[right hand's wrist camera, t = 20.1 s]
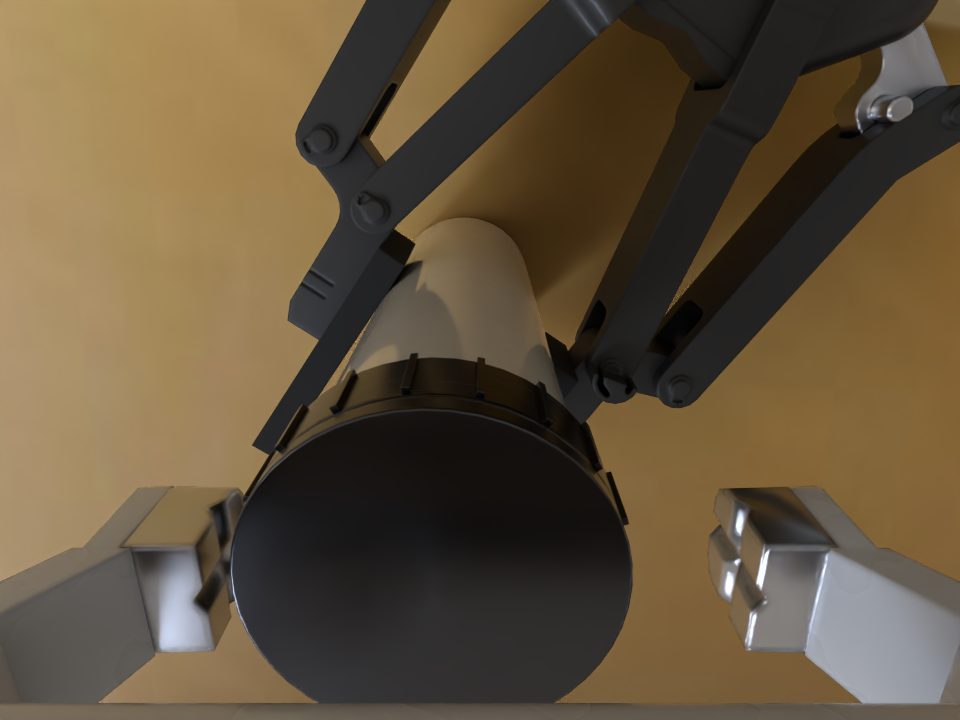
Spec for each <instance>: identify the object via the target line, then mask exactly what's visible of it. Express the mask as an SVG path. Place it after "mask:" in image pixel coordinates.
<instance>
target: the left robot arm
mask: <svg viewBox="0 0 960 720" xmlns="http://www.w3.org/2000/svg"><path fill="white" fill-rule="evenodd" d="M450 1H451V0H366V2H365V4H364V6H363V7H362V9H361V11H360V13H359V15H358V16H357V18H356V20H355V22H354V24H353V26H352V27H351V29H350V31H349V33H348V35H347V37H346V38H345V40H344V42H343V44H342V46H341V48H340V49H339V51H338V53H337V55H336V57H335V59H334V60H333V62H332V64H331V66H330V68H329V69H328V71H327V73H326V75H325V77H324V79H323V80H322V82H321V84H320V86H319V88H318V90H317V91H316V93H315V95H314V97H313V99H312V101H311V102H310V104H309V106H308V108H307V110H306V112H305V113H304V115H303V117H302V119H301V121H300V123H299V124H298V128H297V131H296V134H295V135H296V145H297V148H298V150H299V152H300V154H301V156H302V157H303V158H304V159H306V160H307V161H308V162H309V163H310V164H313V165H315V166H316V167H317V168H318V169H319V171H320V172H321V173H322V175H323V176H324V177H325V178H326V180H327V181H328V182H329V184H330V185H331V186H332V188H333V189H334V191H335V193H336V194H337V197H338V200H339V203H340V215H339V220H338V222H337V224H336V227H335V228H334V230H333V231H332V233H331V235H330V236H329V238H328V240H327V241H326V243H325V245H324V246H323V248H322V250H321V251H320V253H319V254H318V256H317V258H316V259H315V261H314V263H313V264H312V266H311V268H310V270H309V271H308V272H307V274H306V276H305V277H304V279H303V281H302V283H301V284H300V286H299V287H298V289H297V291H296V292H295V294H294V295H293V297H292V299H291V300H290V306H289V314H288V321H289V322H291V323H292V324H294V325H296V326H297V327H299V328H301V329H302V330H304V331H305V332H307V333H309V334H310V335H312V336H313V337H315V338H317V339H318V340H319V342H318V343H317V345H316V346H315V348H314V349H313V351H312V352H311V354H310V356H309V357H308V359H307V360H306V362H305V363H304V365H303V366H302V368H301V370H300V371H299V373H298V374H297V376H296V377H295V379H294V381H293V382H292V384H291V385H290V387H289V388H288V390H287V391H286V393H285V395H284V396H283V398H282V399H281V401H280V402H279V404H278V405H277V407H276V409H275V410H274V412H273V413H272V415H271V416H270V418H269V419H268V421H267V423H266V424H265V426H264V427H263V429H262V430H261V432H260V433H259V435H258V437H257V438H256V440H255V441H254V443H253V444H252V446H254V447H256V448H258V449H259V450H261V451H263V452H265V453H266V454H268V455H270V453H271V451H274V452H276V451H277V450H275V449H274V447H275V446H276V444H277V442H278V441H279V439H280V438H281V436H282V434H283V433H284V431H285V429H286V428H287V426H288V425H289V423H290V421H291V420H292V418H293V417H294V415H295V413H296V412H297V410H298V408H299V407H300V406H301V405H302V404H304V405H305V406H307V407H308V406H309V405H311V404H312V403H313V402H314V401H315V400H316V399H317V398H318V396H319V395H320V393H321V392H322V390H323V389H324V387H325V386H326V384H327V383H328V381H329V380H330V378H331V377H332V375H333V374H334V372H335V371H336V369H337V368H338V366H339V365H340V363H341V362H342V360H343V359H344V357H345V355H346V354H347V352H348V351H349V349H350V348H351V346H352V345H353V343H354V342H355V340H356V339H357V337H358V336H359V334H360V333H361V331H362V330H363V328H364V327H365V325H366V324H367V322H368V321H369V319H370V318H371V316H372V315H373V313H374V312H375V310H376V309H377V307H378V306H379V304H380V302H381V301H382V300H383V298H384V297H385V295H386V294H387V292H388V291H389V289H390V288H391V286H392V285H393V283H394V282H395V280H396V279H397V277H398V276H399V274H400V273H401V271H402V270H403V268H404V267H405V265H406V263H407V261H408V259H409V257H410V255H411V253H412V251H413V249H414V247H415V245H416V244H415V243H414V242H412V241H411V240H409V239H408V238H406V237H405V236H403V235H402V234H400V233H399V232H397V231H396V230H395V227H396V226H397V224H398V223H400V222H401V221H402V220H403V219H404V218H405V217H406V216H407V215H408V214H409V213H410V212H411V211H412V210H413V209H414V208H415V207H416V206H418V205H419V204H420V203H421V202H422V201H423V200H424V199H425V198H426V197H427V196H428V195H429V194H430V193H431V192H432V191H433V190H435V189H436V188H437V187H438V186H439V185H440V184H441V183H442V182H443V181H444V180H445V179H446V178H447V177H448V176H449V175H450V174H451V173H453V172H454V171H455V170H456V169H457V168H458V167H459V166H460V165H461V164H462V163H463V162H464V161H465V160H466V159H467V158H468V157H470V156H471V155H472V154H473V153H474V152H475V151H476V150H477V149H478V148H479V147H480V146H481V145H482V144H483V143H484V142H485V141H487V140H488V139H489V138H490V137H491V136H492V135H493V134H494V133H495V132H496V131H497V130H498V129H499V128H500V127H501V126H502V125H503V124H505V123H506V122H507V121H508V120H509V119H510V118H511V117H512V116H513V115H514V114H515V113H516V112H517V111H518V110H519V109H520V108H522V107H523V106H524V105H525V104H526V103H527V102H528V101H529V100H530V99H531V98H532V97H533V96H534V95H535V94H536V93H537V92H538V91H540V90H541V89H542V88H543V87H544V86H545V85H546V84H547V83H548V82H549V81H550V80H551V79H552V78H553V77H554V76H555V75H557V74H558V73H559V72H560V71H561V70H562V69H563V68H564V67H565V66H566V65H567V64H568V63H569V62H570V61H571V60H572V59H574V58H575V57H576V56H577V55H578V54H579V53H580V52H581V51H582V50H583V49H584V48H585V47H586V46H587V45H588V44H589V43H590V42H592V41H593V40H594V39H595V38H596V37H597V36H598V35H599V34H600V33H602V32H603V31H604V30H605V29H606V28H607V27H608V26H609V25H611V24H612V23H613V22H614V21H615V20H616V19H617V18H620V19H621V20H622V21H623V22H624V23H626V24H627V25H628V26H629V27H630V28H632V29H633V30H636V31H638V32H641V33H643V34H645V35H648V36H650V37H653V38H655V39H657V40H660V41H662V42H663V43H664V45H665V46H666V48H667V49H668V51H669V52H670V54H671V55H672V57H673V58H674V60H675V61H676V63H677V64H678V66H679V67H680V69H681V70H682V71H684V72H685V73H686V74H687V75H688V76H690V77H691V81H690V83H689V85H688V87H687V89H686V91H685V93H684V95H683V98H682V100H681V102H680V104H679V107H678V109H677V113H676V120H675V125H674V128H673V130H672V133H671V135H670V137H669V139H668V141H667V143H666V145H665V147H664V149H663V152H662V154H661V156H660V158H659V160H658V162H657V164H656V166H655V168H654V171H653V173H652V175H651V177H650V179H649V181H648V183H647V185H646V187H645V190H644V192H643V194H642V196H641V198H640V200H639V202H638V204H637V206H636V209H635V211H634V213H633V215H632V217H631V219H630V221H629V223H628V226H627V228H626V230H625V232H624V234H623V236H622V238H621V240H620V242H619V245H618V247H617V249H616V251H615V253H614V255H613V257H612V259H611V261H610V264H609V266H608V268H607V270H606V272H605V274H604V276H603V278H602V280H601V283H600V285H599V287H598V289H597V291H596V293H595V295H594V297H593V299H592V302H591V304H590V306H589V308H588V310H587V312H586V314H585V316H584V318H583V321H582V323H581V325H580V327H579V329H578V331H577V334H576V338H575V343H574V344H573V346H572V347H571V348H570V349H569V351H568V350H567V348H566V345H564V344H563V343H561V342H560V341H558V340H557V339H555V338H554V337H552V336H551V335H550V334H548V333H547V332H545V335H546V339H547V342H548V346H549V349H550V353H551V356H552V360H553V363H554V367H555V370H556V374H557V377H558V381H559V384H560V388H561V391H562V395H563V398H564V402H565V406H566V409H567V410H568V411H569V412H570V413H571V414H572V415H573V416H574V417H575V418H576V419H577V420H578V421H579V423H580V424H582V423H584V422H586V420H587V419H588V418H589V417H590V416H591V414H592V413H593V412H594V411H595V410H596V408H597V407H598V406H599V405H600V404H601V403H602V402H603V401H605V402H607V403H613V404H617V403H622V402H625V401H627V400H629V399H630V398H632V397H633V396H634V395H635V393H636V392H637V393H641V394H645V395H649V396H653V397H658V398H659V399H660V400H661V401H662V402H663V403H664V405H667V406H669V407H672V408H682V407H685V406H689V405H690V404H692V403H693V402H694V401H696V400H697V399H698V398H699V397H700V396H701V394H702V393H703V392H704V391H705V390H706V389H707V388H708V387H709V386H710V385H711V383H712V382H713V381H714V380H715V379H716V378H717V377H718V376H719V375H720V374H721V372H722V371H723V370H724V369H725V368H726V367H727V366H728V365H729V364H730V363H731V362H732V360H733V359H734V358H735V357H736V356H737V355H738V354H739V353H740V352H741V351H742V349H743V348H744V347H745V346H746V345H747V344H748V343H749V342H750V341H751V340H752V338H753V337H754V336H755V335H756V334H757V333H758V332H759V331H760V330H761V329H762V328H763V326H764V325H765V324H766V323H767V322H768V321H769V320H770V319H771V318H772V317H773V315H774V314H775V313H776V312H777V311H778V310H779V309H780V308H781V307H782V306H783V304H784V303H785V302H786V301H787V300H788V299H789V298H790V297H791V296H792V295H793V294H794V292H795V291H796V290H797V289H798V288H799V287H800V286H801V285H802V284H803V283H804V281H805V280H806V279H807V278H808V277H809V276H810V275H811V274H812V273H813V272H814V270H815V269H816V268H817V267H818V266H819V265H820V264H821V263H822V262H823V261H824V260H825V258H826V257H827V256H828V255H829V254H830V253H831V252H832V251H833V250H834V249H835V247H836V246H837V245H838V244H839V243H840V242H841V241H842V240H843V239H844V238H845V237H846V235H847V234H848V233H849V232H850V231H851V230H852V229H853V228H854V227H855V226H856V224H857V223H858V222H859V221H860V220H861V219H862V218H863V217H864V216H865V215H866V213H867V212H868V211H869V210H870V209H871V208H872V207H873V206H874V205H875V204H876V203H877V201H878V200H879V199H880V198H881V197H882V196H883V195H884V194H885V193H886V192H887V190H888V189H889V188H890V187H891V186H892V185H893V184H894V183H895V182H896V181H897V180H898V179H900V178H901V177H903V176H904V175H906V174H908V173H909V172H911V171H913V170H914V169H916V168H917V167H919V166H921V165H922V164H924V163H926V162H927V161H929V160H930V159H932V158H934V157H935V156H937V155H939V154H940V153H942V152H943V151H945V150H947V149H948V148H950V147H952V146H953V145H955V144H956V143H958V142H960V85H951V86H949V85H948V83H947V81H946V79H945V76H944V74H943V71H942V69H941V66H940V64H939V61H938V59H937V56H936V53H935V51H934V48H933V46H932V43H931V41H930V38H929V36H928V33H927V31H926V28H925V26H924V23H923V22H924V21H925V20H926V19H927V17H928V16H929V15H930V13H931V12H932V10H933V9H934V7H935V6H936V4H937V2H938V0H550V1H549V2H548V3H547V4H546V5H545V6H544V7H543V8H542V9H541V10H540V11H539V12H538V13H537V14H536V15H535V16H534V17H533V18H532V19H531V20H529V21H528V22H527V23H526V24H525V25H524V26H523V27H522V28H521V29H520V30H519V31H518V32H517V33H516V34H515V35H514V36H513V37H512V38H511V39H510V40H509V41H508V42H507V43H506V44H505V45H504V46H503V47H502V48H501V49H500V50H499V51H498V52H497V53H496V54H495V55H494V56H493V57H492V58H491V59H490V60H489V61H488V62H487V63H486V64H485V65H484V66H483V67H482V68H481V69H480V70H479V71H478V72H477V73H476V74H474V75H473V76H472V77H471V78H470V79H469V80H468V81H467V82H466V83H465V84H464V85H463V86H462V87H461V88H460V89H459V90H458V91H457V92H456V93H455V94H454V95H453V96H452V97H451V98H450V99H449V100H448V101H447V102H446V103H445V104H444V105H443V106H442V107H441V108H440V109H439V110H438V111H437V112H436V113H435V114H434V115H433V116H432V117H431V118H430V119H429V120H428V121H427V122H426V123H425V124H424V125H423V126H422V127H421V128H420V129H418V130H417V131H416V132H415V133H414V134H413V135H412V136H411V137H410V138H409V139H408V140H407V141H406V142H405V143H404V144H403V145H402V146H401V147H400V148H399V149H398V150H397V151H396V152H395V153H394V154H393V155H392V156H391V157H390V158H389V159H388V160H387V161H385V160H384V158H383V157H382V156H381V154H380V153H379V151H378V150H377V149H376V147H375V146H374V145H373V143H372V142H371V140H370V137H371V135H372V134H373V132H374V130H375V129H376V127H377V125H378V123H379V122H380V120H381V118H382V117H383V115H384V113H385V112H386V110H387V108H388V107H389V105H390V103H391V101H392V100H393V98H394V96H395V95H396V93H397V91H398V90H399V88H400V86H401V84H402V83H403V81H404V79H405V78H406V76H407V74H408V73H409V71H410V69H411V68H412V66H413V64H414V62H415V61H416V59H417V57H418V56H419V54H420V52H421V51H422V49H423V47H424V45H425V44H426V42H427V40H428V39H429V37H430V35H431V34H432V32H433V30H434V28H435V27H436V25H437V23H438V22H439V20H440V18H441V17H442V15H443V13H444V12H445V10H446V8H447V6H448V5H449V3H450ZM858 55H860V56H861V60H862V61H861V71H860V74H859V77H858V79H857V80H856V82H855V84H854V85H853V86H852V87H851V88H850V89H849V90H848V91H847V92H846V93H845V94H844V95H843V97H842V98H841V100H840V101H839V102H838V103H837V105H836V106H835V110H834V114H835V117H836V118H837V122H838V124H836V125H835V126H833V127H832V128H831V129H829V130H828V131H827V132H825V133H824V134H823V135H822V136H821V137H820V138H818V139H817V140H816V141H815V142H814V143H813V144H812V145H810V147H809V148H808V149H807V150H806V151H805V152H804V153H803V154H802V155H801V156H800V157H799V158H798V159H797V160H796V162H795V163H794V164H793V165H792V166H791V168H790V169H789V170H788V171H787V172H786V173H785V175H784V176H783V177H782V178H781V179H780V181H779V182H778V183H777V184H776V185H775V186H774V188H773V189H772V190H771V191H770V192H769V193H768V195H767V196H766V197H765V198H764V199H763V201H762V202H761V203H760V204H759V205H758V206H757V208H756V209H755V210H754V211H753V212H752V214H751V215H750V216H749V217H748V218H747V219H746V221H745V222H744V223H743V224H742V225H741V227H740V228H739V229H738V230H737V231H736V232H735V234H734V235H733V236H732V237H731V238H730V240H729V241H728V242H727V243H726V244H725V245H724V247H723V248H722V249H721V250H720V251H719V252H718V254H717V255H716V256H715V257H714V258H713V260H712V261H711V262H710V263H709V264H708V265H707V267H706V268H705V269H704V270H703V271H702V273H701V274H700V275H699V276H698V277H697V278H696V280H695V281H694V282H693V283H692V284H691V286H690V287H689V288H688V289H687V290H686V291H685V293H684V294H683V295H682V296H681V297H680V298H679V300H678V301H677V302H676V303H675V304H674V306H673V307H672V308H671V309H670V310H669V311H668V313H667V314H666V315H665V313H666V311H667V309H668V307H669V306H670V304H671V302H672V300H673V298H674V296H675V294H676V292H677V290H678V288H679V286H680V284H681V282H682V281H683V279H684V277H685V275H686V273H687V271H688V269H689V267H690V265H691V263H692V261H693V259H694V257H695V256H696V254H697V252H698V250H699V248H700V246H701V244H702V242H703V240H704V238H705V236H706V234H707V232H708V231H709V229H710V227H711V225H712V223H713V221H714V219H715V217H716V215H717V213H718V211H719V209H720V207H721V206H722V204H723V202H724V200H725V198H726V196H727V194H728V192H729V190H730V188H731V186H732V184H733V183H734V181H735V179H736V177H737V175H738V173H739V171H740V169H741V167H742V165H743V163H744V161H745V159H746V158H747V156H748V154H749V152H750V150H751V149H752V148H753V146H754V145H755V144H756V143H757V142H759V141H760V140H761V139H762V138H764V136H765V135H766V134H767V133H768V132H769V130H770V129H771V127H772V125H773V124H774V122H775V120H776V118H777V117H778V115H779V113H780V111H781V109H782V107H783V105H784V103H785V101H786V99H787V98H788V96H789V94H790V92H791V90H792V88H793V86H794V84H795V82H796V80H797V78H798V77H799V76H802V75H805V74H807V73H810V72H813V71H816V70H819V69H821V68H824V67H827V66H830V65H833V64H835V63H838V62H841V61H844V60H847V59H849V58H852V57H855V56H858ZM664 315H665V316H664Z"/></svg>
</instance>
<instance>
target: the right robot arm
mask: <svg viewBox="0 0 960 720" xmlns="http://www.w3.org/2000/svg"><path fill="white" fill-rule="evenodd" d="M243 497H244V495H243V493H242V492H241V490H240V489H239V488H231V487H181V486H177V487H174V486H146V487H141V488H138V489H137V490H136V491H135V492H134V493H133V494H132V495H131V496H130V497H129V498H128V499H127V500H126V502H125V503H124V504H123V505H122V506H121V507H120V508H119V509H118V510H117V511H116V512H115V513H114V515H113V516H112V517H111V518H110V519H109V520H108V521H107V522H106V523H105V524H104V525H103V526H102V527H101V529H100V530H99V531H98V532H97V533H96V534H95V535H94V536H93V537H92V538H91V539H90V540H89V542H88V543H87V544H86V545H85V546H84V547H83V548H71V549H69V550H67V551H65V552H63V553H60V554H58V555H56V556H54V557H52V558H50V559H48V560H46V561H43V562H41V563H39V564H37V565H35V566H33V567H31V568H29V569H26V570H24V571H22V572H20V573H18V574H16V575H14V576H12V577H9V578H7V579H5V580H3V581H1V582H0V720H960V582H959V581H957V580H955V579H952V578H950V577H948V576H946V575H944V574H942V573H940V572H938V571H936V570H933V569H931V568H929V567H927V566H925V565H923V564H921V563H919V562H916V561H914V560H912V559H910V558H908V557H906V556H904V555H902V554H900V553H897V552H895V551H893V550H891V549H889V548H877V547H876V546H875V545H874V544H873V543H872V542H871V540H870V539H869V538H868V537H867V536H866V535H865V534H864V533H863V532H862V531H861V530H860V529H859V527H858V526H857V525H856V524H855V523H854V522H853V521H852V520H851V519H850V518H849V517H848V516H847V514H846V513H845V512H844V511H843V510H842V509H841V508H840V507H839V506H838V505H837V504H836V503H835V501H834V500H833V499H832V498H831V497H830V496H829V495H828V494H827V493H826V492H825V491H824V490H823V489H822V488H819V487H817V486H795V487H768V488H728V489H719V491H718V493H717V496H716V498H715V504H714V510H713V512H714V514H715V515H716V517H717V519H718V521H719V522H720V525H719V526H718V527H717V528H716V529H715V530H714V531H713V532H712V533H711V534H710V536H709V544H708V553H707V554H708V566H709V573H710V576H711V580H712V584H713V586H714V588H715V590H716V592H717V594H718V596H720V597H721V598H722V599H724V600H725V601H727V602H728V603H730V604H731V606H730V612H729V619H730V621H731V623H732V624H733V626H734V628H735V630H736V632H737V634H738V636H739V638H740V640H741V642H742V644H743V646H744V648H745V650H746V651H763V652H799V653H805V656H806V657H807V658H809V659H810V660H811V661H812V662H813V663H815V664H816V665H817V666H818V667H819V668H821V669H822V670H823V671H824V672H826V673H827V674H828V675H829V676H830V677H832V678H833V679H834V680H835V681H837V682H838V683H839V684H840V685H841V686H843V687H844V688H845V689H846V690H847V691H849V692H850V693H851V694H852V695H854V696H855V697H856V698H857V699H858V700H860V701H861V702H862V703H98V702H99V701H101V700H102V699H103V698H104V697H105V696H107V695H108V694H109V693H110V692H112V691H113V690H114V689H115V688H116V687H118V686H119V685H120V684H121V683H123V682H124V681H125V680H126V679H127V678H129V677H130V676H131V675H132V674H133V673H135V672H136V671H137V670H138V669H140V668H141V667H142V666H143V665H144V664H146V663H147V662H148V661H149V660H151V659H152V658H153V657H154V656H155V653H160V652H195V651H214V650H215V648H216V646H217V644H218V642H219V640H220V638H221V636H222V634H223V632H224V630H225V628H226V626H227V624H228V623H229V621H230V619H231V612H230V606H229V604H230V603H232V602H233V601H235V600H234V596H233V593H232V585H231V576H230V554H231V545H232V540H233V535H234V531H235V526H236V524H237V521H238V519H239V516H240V514H241V511H242V508H243V506H244V504H245V502H243V501H242V500H243Z"/></svg>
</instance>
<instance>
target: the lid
mask: <svg viewBox="0 0 960 720" xmlns="http://www.w3.org/2000/svg"><path fill="white" fill-rule="evenodd" d="M274 449H275V450H277V451H276V452H274V451H271V453H270V455H269V456H268V458H267V459H266V461H265V463H264V464H263V466H262V467H261V469H260V471H259V472H258V474H257V476H256V477H255V479H254V480H253V482H252V484H251V485H250V487H249V488H248V490H247V492H246V493H245V495H244V497H243V500H242V501H243V502H245V504H244V506H243V508H242V511H241V514H240V516H239V519H238V521H237V524H236V526H235V531H234V535H233V540H232V545H231V554H230V576H231V585H232V593H233V596H234V600H235V603H236V607H237V610H238V614H239V616H240V618H241V620H242V622H243V625H244V627H245V629H246V631H247V633H248V635H249V636H250V638H251V640H252V641H253V643H254V644H255V646H256V647H257V649H258V651H259V652H260V653H261V654H262V655H263V657H264V658H265V659H266V660H267V661H268V663H269V664H270V665H271V666H272V667H273V668H274V669H275V670H276V671H277V672H278V673H279V674H280V675H281V676H282V677H283V678H284V679H285V680H286V681H288V682H289V683H290V684H291V685H293V686H294V687H295V688H297V689H298V690H299V691H301V692H302V693H303V694H305V695H306V696H308V697H309V698H311V699H313V700H314V701H316V702H318V703H554V702H556V701H557V700H559V699H561V698H562V697H564V696H565V695H567V694H568V693H570V692H571V691H572V690H573V689H574V688H576V687H577V686H578V685H579V684H580V683H582V682H583V681H584V680H585V679H586V678H587V677H588V676H589V675H590V674H591V673H592V672H593V671H594V670H595V669H596V668H597V667H598V665H599V664H600V663H601V662H602V660H603V659H604V658H605V656H606V655H607V653H608V652H609V651H610V649H611V648H612V646H613V644H614V642H615V640H616V638H617V637H618V635H619V633H620V631H621V629H622V626H623V623H624V620H625V617H626V614H627V611H628V608H629V604H630V598H631V592H632V586H633V563H632V557H631V551H630V545H629V541H628V538H627V535H626V532H625V529H624V525H628V524H629V522H628V518H627V515H626V512H625V509H624V507H623V504H622V501H621V498H620V495H619V493H618V490H617V487H616V484H615V481H614V479H613V476H612V473H611V472H607V473H605V470H604V467H603V464H602V461H601V458H600V456H599V454H598V451H597V448H596V445H595V442H594V439H593V436H592V433H591V430H590V427H589V425H588V424H587V423H586V422H584V423H582V424H580V423H579V421H578V420H577V419H576V418H575V417H574V416H573V415H572V414H571V413H570V412H569V411H568V410H567V409H566V408H565V407H564V405H562V404H561V403H560V402H559V401H557V400H556V399H555V398H554V397H552V396H551V395H550V394H549V393H547V390H546V386H545V384H544V383H542V382H540V381H539V382H538V383H537V384H536V385H535V384H533V383H531V382H530V381H528V380H526V379H524V378H522V377H520V376H518V375H515V374H513V373H511V372H508V371H506V370H504V369H501V368H497V367H494V366H491V365H487V364H485V358H481V357H478V358H477V362H475V361H469V360H463V359H457V358H440V357H437V358H436V357H429V358H419V356H418V353H411V354H410V357H409V359H406V360H401V361H396V362H391V363H386V364H382V365H379V366H376V367H373V368H370V369H367V370H364V371H362V372H359V373H356V371H355V370H354V369H353V370H351V371H348V372H347V374H346V376H345V378H344V380H343V381H341V382H339V383H338V384H336V385H335V386H333V387H332V388H330V389H329V390H328V391H326V392H325V393H323V394H322V395H320V396H319V397H318V398H317V399H316V400H315V401H314V402H313V403H312V404H311V405H309V406H308V407H307V406H305V405H304V404H302V405H301V406H300V407H299V408H298V410H297V412H296V413H295V415H294V417H293V418H292V420H291V421H290V423H289V425H288V426H287V428H286V429H285V431H284V433H283V434H282V436H281V438H280V439H279V441H278V442H277V444H276V446H275V447H274Z"/></svg>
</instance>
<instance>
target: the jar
mask: <svg viewBox="0 0 960 720" xmlns="http://www.w3.org/2000/svg"><path fill="white" fill-rule="evenodd" d="M414 243H415V244H416V245H415V247H414V249H413V251H412V253H411V255H410V257H409V259H408V261H407V263H406V265H405V267H404V268H403V270H402V271H401V273H400V274H399V276H398V277H397V279H396V280H395V282H394V283H393V285H392V286H391V288H390V289H389V291H388V292H387V294H386V295H385V297H384V298H383V300H382V301H381V302H380V304H379V306H378V307H377V309H376V311H375V312H374V314H373V316H372V318H371V320H370V322H369V324H368V326H367V327H366V329H365V331H364V333H363V335H362V337H361V339H360V341H359V342H358V344H357V346H356V348H355V350H354V352H353V354H352V356H351V357H350V359H349V361H348V363H347V365H346V367H345V369H344V371H343V372H342V374H341V376H340V378H339V380H338V382H337V384H338V383H339V382H341V381H343V380H344V378H345V376H346V374H347V372H348V371H351V370H353V369H354V370H355V371H356V373H359V372H362V371H364V370H367V369H370V368H373V367H376V366H379V365H382V364H386V363H391V362H396V361H401V360H406V359H409V357H410V354H411V353H418V356H419V358H429V357H436V358H437V357H440V358H457V359H463V360H469V361H475V362H477V358H478V357H481V358H485V364H487V365H491V366H494V367H497V368H501V369H504V370H506V371H508V372H511V373H513V374H515V375H518V376H520V377H522V378H524V379H526V380H528V381H530V382H531V383H533V384H535V385H536V384H537V383H538V382H539V381H540V382H542V383H544V384H545V386H546V390H547V393H549V394H550V395H551V396H552V397H554V398H555V399H556V400H557V401H559V402H560V403H561V404H562V405H564V407H565V408H566V406H565V402H564V398H563V395H562V391H561V388H560V384H559V381H558V377H557V374H556V370H555V367H554V363H553V360H552V356H551V353H550V349H549V346H548V342H547V339H546V335H545V332H544V328H543V324H542V321H541V317H540V314H539V310H538V307H537V303H536V300H535V296H534V293H533V289H532V286H531V282H530V279H529V275H528V272H527V268H526V265H525V262H524V259H523V256H522V254H521V252H520V250H519V248H518V247H517V245H516V244H515V242H514V241H513V240H512V239H511V238H510V237H509V236H508V235H507V234H506V233H505V232H504V231H503V230H501V229H500V228H498V227H497V226H495V225H493V224H491V223H489V222H486V221H483V220H480V219H475V218H467V217H460V218H452V219H447V220H444V221H441V222H438V223H436V224H434V225H432V226H430V227H429V228H427V229H426V230H425V231H423V232H422V233H421V234H420V235H419V236H418V237H417V238H416V239H415V240H414Z"/></svg>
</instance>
